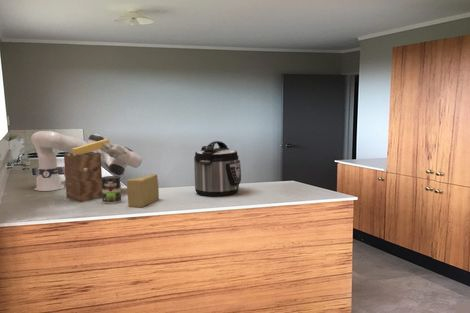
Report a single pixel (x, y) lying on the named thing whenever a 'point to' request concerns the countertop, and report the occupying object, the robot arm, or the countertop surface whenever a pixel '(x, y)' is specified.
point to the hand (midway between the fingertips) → (100, 142)
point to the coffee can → (111, 189)
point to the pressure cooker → (217, 170)
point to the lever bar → (89, 147)
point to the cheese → (142, 190)
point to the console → (83, 176)
